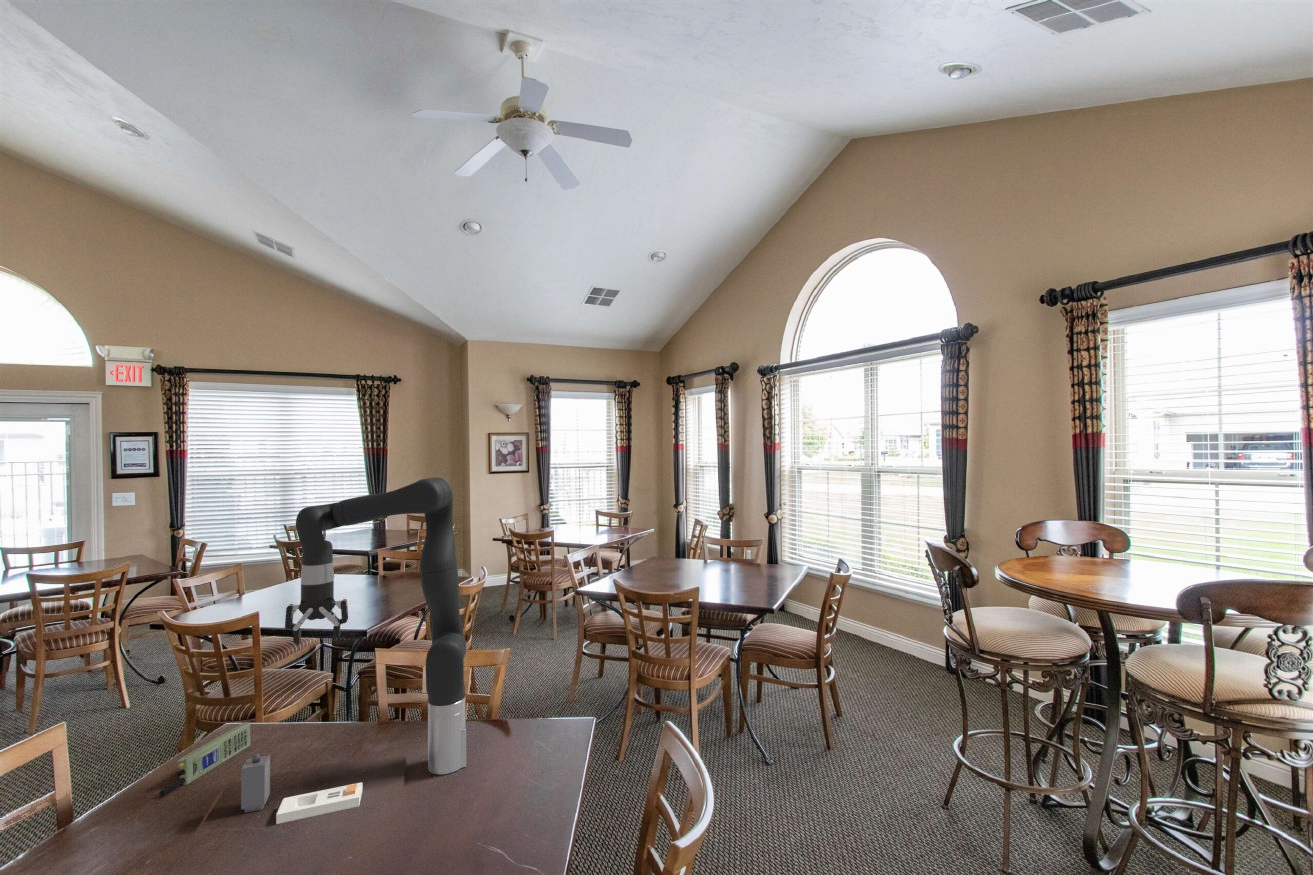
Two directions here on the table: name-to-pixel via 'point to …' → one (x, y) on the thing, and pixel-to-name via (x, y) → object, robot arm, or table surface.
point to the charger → (255, 782)
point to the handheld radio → (211, 755)
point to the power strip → (319, 802)
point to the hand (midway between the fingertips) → (317, 641)
